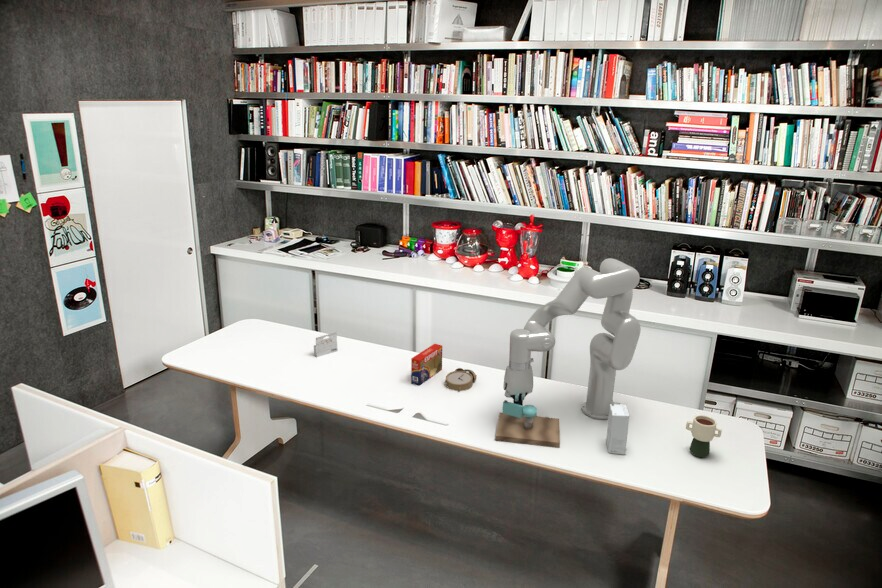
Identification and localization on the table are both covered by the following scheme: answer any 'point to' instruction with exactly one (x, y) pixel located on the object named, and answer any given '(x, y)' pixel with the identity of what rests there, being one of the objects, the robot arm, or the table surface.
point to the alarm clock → (460, 379)
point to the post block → (528, 430)
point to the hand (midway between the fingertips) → (517, 408)
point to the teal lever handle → (519, 410)
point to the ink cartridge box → (325, 345)
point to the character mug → (702, 434)
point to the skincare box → (617, 429)
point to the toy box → (426, 364)
